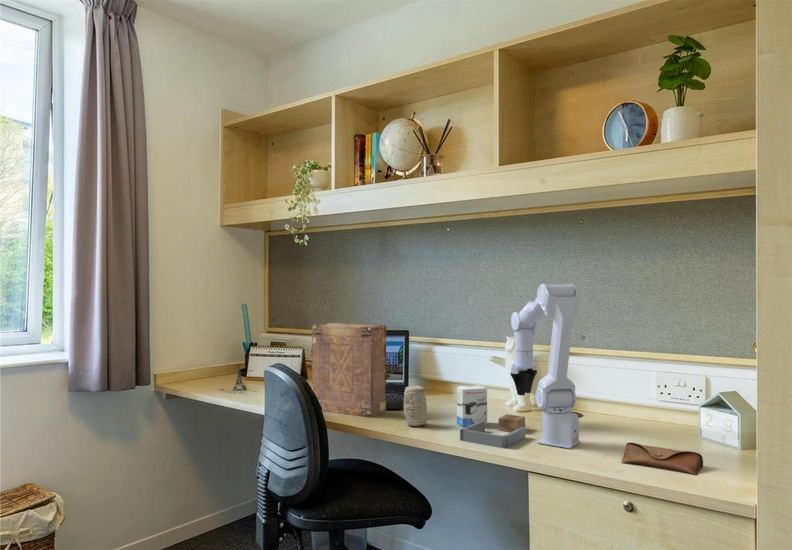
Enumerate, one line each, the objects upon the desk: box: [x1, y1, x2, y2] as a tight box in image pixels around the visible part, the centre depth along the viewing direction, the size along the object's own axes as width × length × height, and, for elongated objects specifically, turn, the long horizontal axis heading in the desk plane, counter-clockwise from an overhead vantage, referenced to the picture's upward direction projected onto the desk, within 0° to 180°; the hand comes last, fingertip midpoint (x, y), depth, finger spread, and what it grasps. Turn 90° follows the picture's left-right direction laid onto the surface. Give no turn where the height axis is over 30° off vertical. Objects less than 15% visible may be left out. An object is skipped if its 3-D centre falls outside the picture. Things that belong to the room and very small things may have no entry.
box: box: [459, 421, 526, 449], centre depth 168 cm, size 14×13×3 cm
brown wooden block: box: [498, 413, 526, 433], centre depth 178 cm, size 6×6×4 cm
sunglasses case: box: [620, 442, 704, 476], centre depth 144 cm, size 18×7×7 cm
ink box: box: [456, 384, 488, 428], centre depth 185 cm, size 8×5×12 cm, turn 105°
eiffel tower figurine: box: [218, 361, 254, 394], centre depth 245 cm, size 15×10×13 cm
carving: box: [403, 385, 428, 427], centre depth 184 cm, size 6×8×12 cm
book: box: [311, 322, 387, 418], centre depth 205 cm, size 25×9×30 cm, turn 59°
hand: (524, 393), depth 185 cm, fingers open, 4 cm apart
